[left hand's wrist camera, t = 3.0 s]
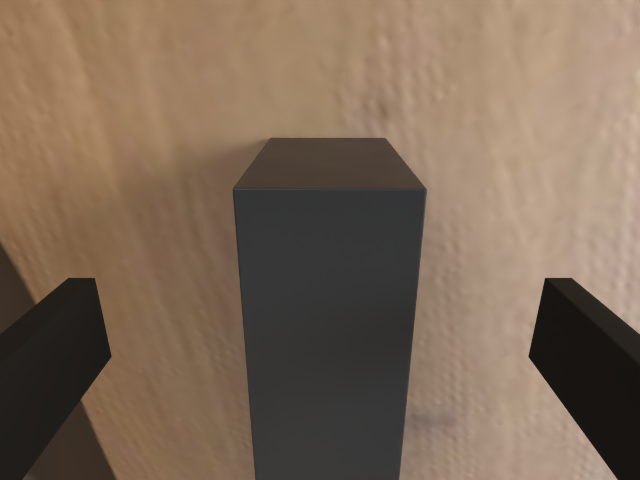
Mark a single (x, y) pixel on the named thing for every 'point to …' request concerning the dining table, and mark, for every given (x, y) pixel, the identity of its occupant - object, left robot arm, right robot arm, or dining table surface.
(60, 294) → the left robot arm
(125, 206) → the dining table surface
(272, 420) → the beam
